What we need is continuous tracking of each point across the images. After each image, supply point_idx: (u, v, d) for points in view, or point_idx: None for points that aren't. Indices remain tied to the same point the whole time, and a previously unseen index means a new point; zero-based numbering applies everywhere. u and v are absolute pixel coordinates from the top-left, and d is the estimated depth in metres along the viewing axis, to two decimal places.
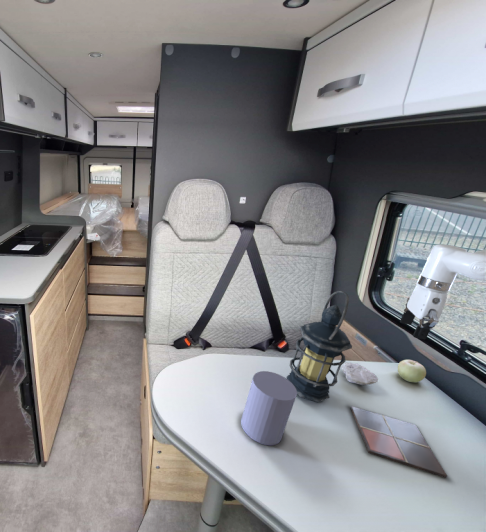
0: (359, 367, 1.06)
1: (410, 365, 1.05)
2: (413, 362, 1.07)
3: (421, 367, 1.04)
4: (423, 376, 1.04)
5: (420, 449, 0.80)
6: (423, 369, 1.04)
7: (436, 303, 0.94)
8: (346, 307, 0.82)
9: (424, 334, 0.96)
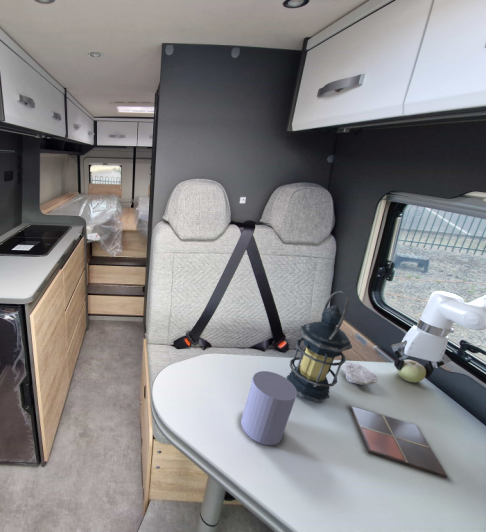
0: (359, 367, 1.06)
1: (410, 365, 1.05)
2: (413, 362, 1.07)
3: (421, 367, 1.04)
4: (423, 376, 1.04)
5: (420, 449, 0.80)
6: (423, 369, 1.04)
7: None
8: (346, 307, 0.82)
9: None
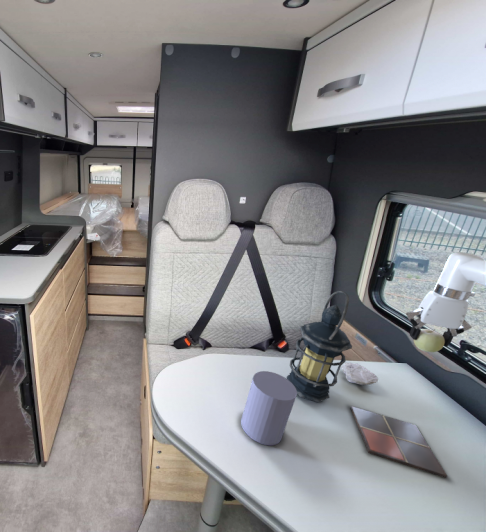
0: (359, 367, 1.06)
1: (427, 333, 0.99)
2: (430, 331, 1.01)
3: (439, 335, 0.98)
4: (441, 345, 0.97)
5: (420, 449, 0.80)
6: (441, 337, 0.98)
7: None
8: (346, 307, 0.82)
9: None
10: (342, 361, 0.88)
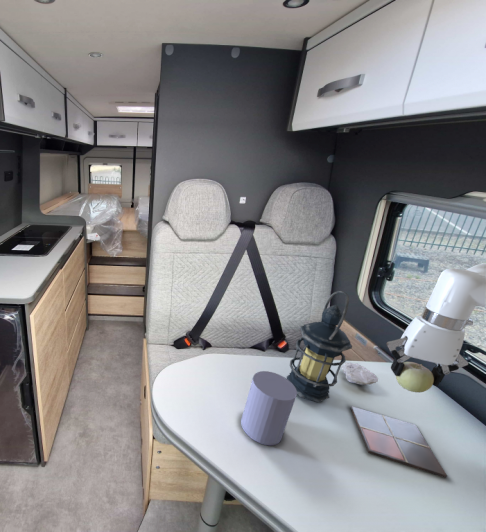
0: (359, 367, 1.06)
1: (412, 369, 0.78)
2: (416, 365, 0.80)
3: (427, 372, 0.78)
4: (430, 384, 0.77)
5: (420, 449, 0.80)
6: (430, 375, 0.77)
7: None
8: (346, 307, 0.82)
9: None
10: (342, 361, 0.88)
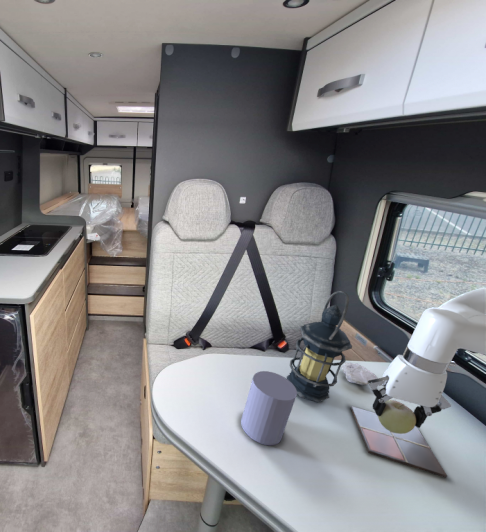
0: (359, 367, 1.06)
1: (394, 410, 0.75)
2: (398, 404, 0.77)
3: (409, 413, 0.74)
4: (412, 426, 0.74)
5: (420, 449, 0.80)
6: (412, 416, 0.74)
7: None
8: (346, 307, 0.82)
9: None
10: (342, 361, 0.88)
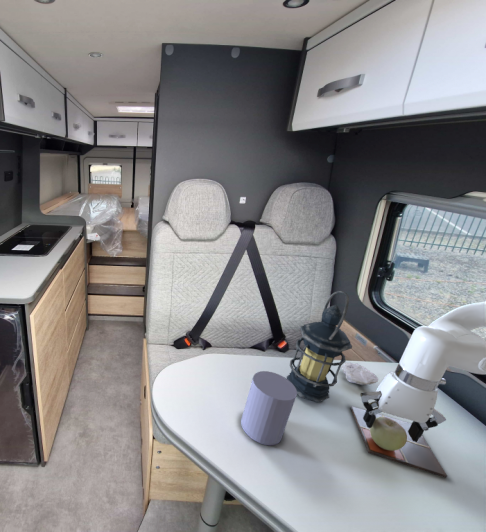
0: (359, 367, 1.06)
1: (385, 427, 0.77)
2: (390, 422, 0.79)
3: (400, 431, 0.76)
4: (403, 443, 0.76)
5: (420, 449, 0.80)
6: (403, 434, 0.76)
7: None
8: (346, 307, 0.82)
9: None
10: (342, 361, 0.88)
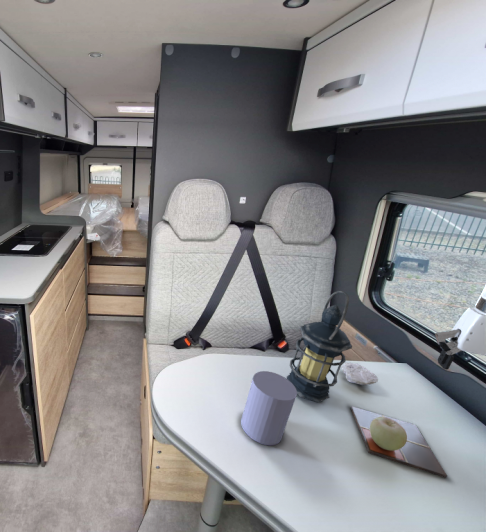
0: (359, 367, 1.06)
1: (385, 427, 0.77)
2: (390, 422, 0.79)
3: (400, 431, 0.76)
4: (403, 443, 0.76)
5: (420, 449, 0.80)
6: (403, 434, 0.76)
7: None
8: (346, 307, 0.82)
9: None
10: (342, 361, 0.88)
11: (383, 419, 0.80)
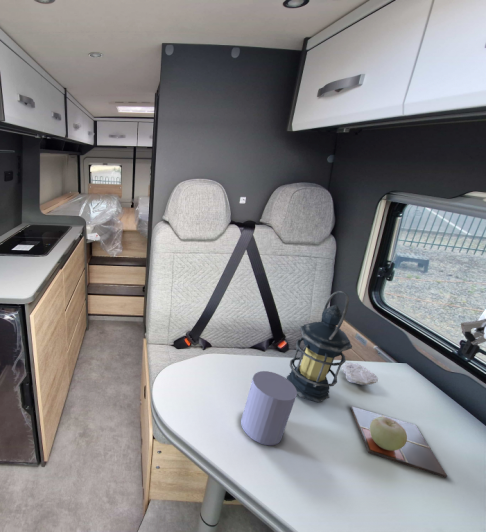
0: (359, 367, 1.06)
1: (385, 427, 0.77)
2: (390, 422, 0.79)
3: (400, 431, 0.76)
4: (403, 443, 0.76)
5: (420, 449, 0.80)
6: (403, 434, 0.76)
7: None
8: (346, 307, 0.82)
9: None
10: (342, 361, 0.88)
11: (383, 419, 0.80)
